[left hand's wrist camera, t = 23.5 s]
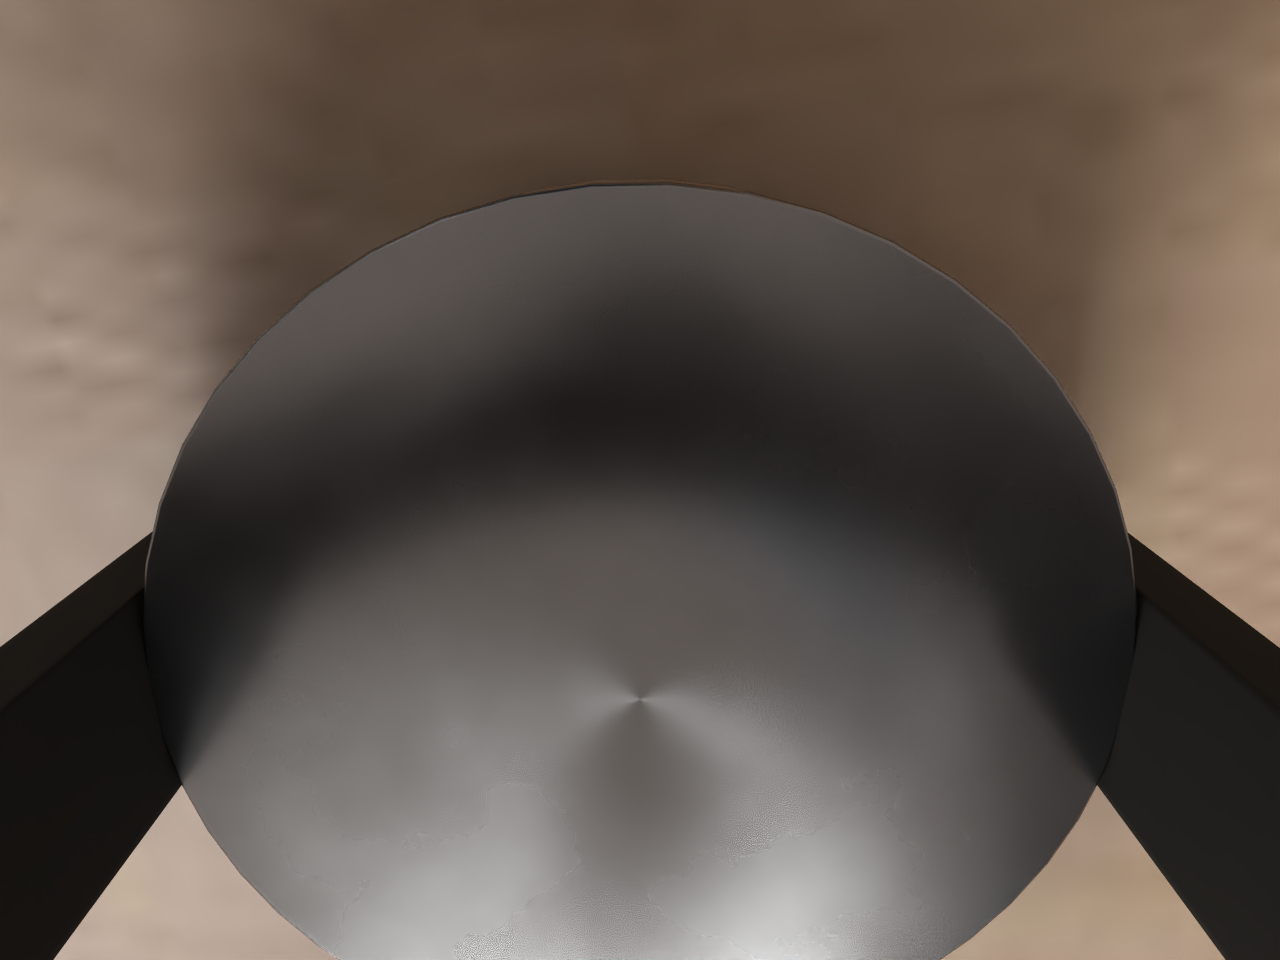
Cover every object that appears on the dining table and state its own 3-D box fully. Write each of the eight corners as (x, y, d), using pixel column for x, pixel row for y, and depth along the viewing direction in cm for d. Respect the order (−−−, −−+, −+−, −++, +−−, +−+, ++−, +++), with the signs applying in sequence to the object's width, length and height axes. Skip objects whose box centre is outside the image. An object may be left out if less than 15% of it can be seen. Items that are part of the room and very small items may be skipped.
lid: (1166, 771, 13) (1248, 865, 11) (490, 1030, 15) (471, 1146, 13) (874, -19, 9) (926, -61, 8) (31, 449, 11) (-81, 501, 9)
